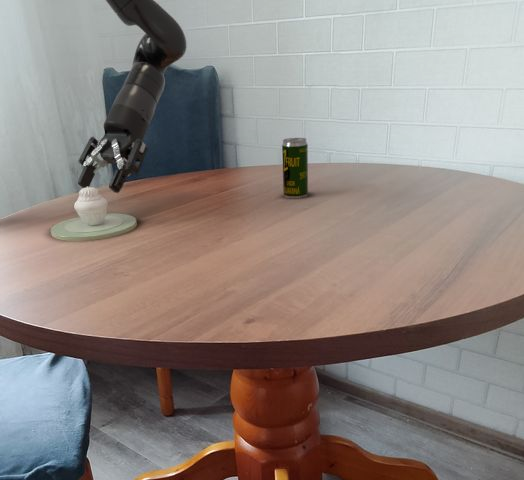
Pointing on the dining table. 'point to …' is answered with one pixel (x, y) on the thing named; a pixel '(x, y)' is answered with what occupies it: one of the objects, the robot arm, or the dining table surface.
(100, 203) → the muffin
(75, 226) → the plate
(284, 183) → the green drink can
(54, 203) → the dining table surface
